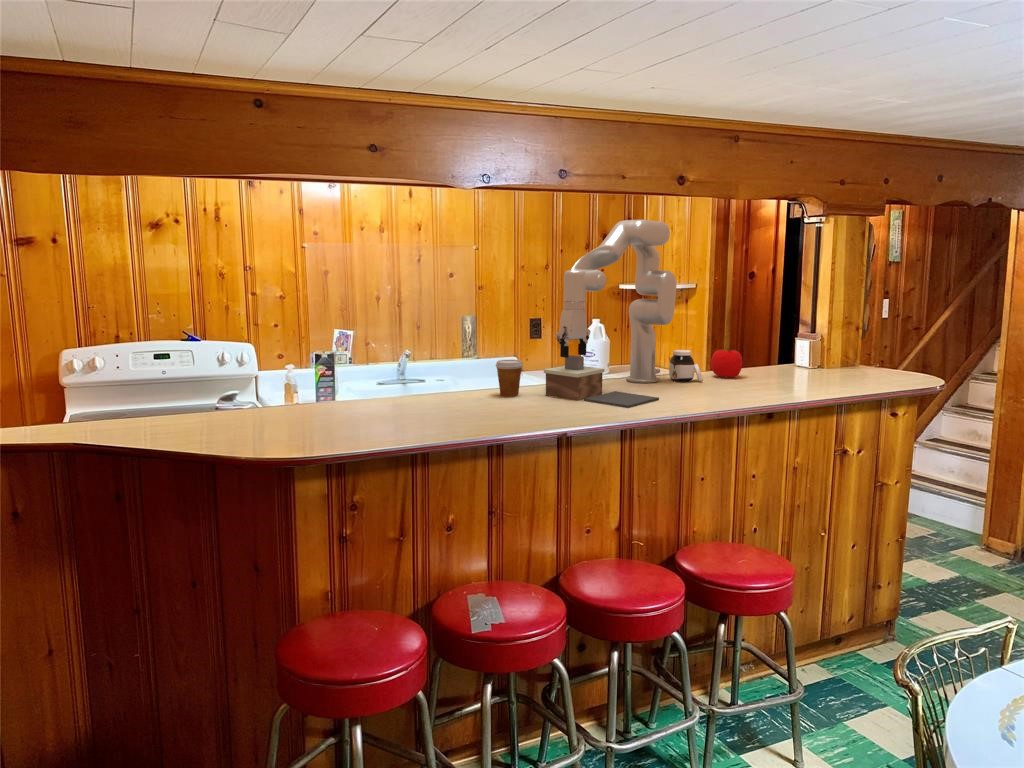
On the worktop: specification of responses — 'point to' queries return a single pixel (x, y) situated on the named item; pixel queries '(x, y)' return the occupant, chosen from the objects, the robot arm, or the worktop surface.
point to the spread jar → (683, 367)
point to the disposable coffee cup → (509, 377)
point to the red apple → (726, 363)
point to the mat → (621, 399)
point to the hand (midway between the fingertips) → (573, 356)
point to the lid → (574, 368)
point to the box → (573, 386)
